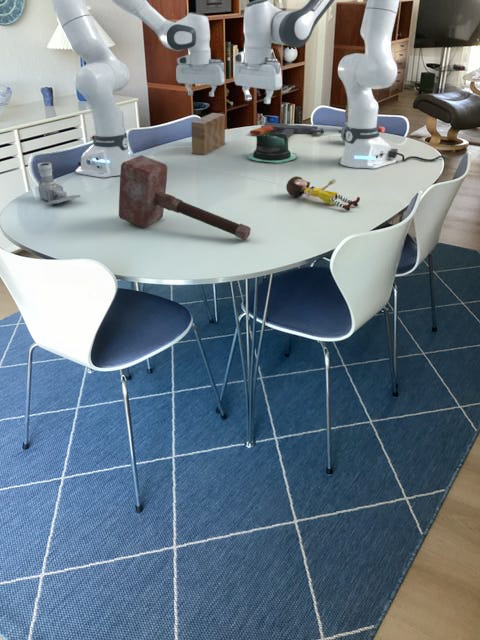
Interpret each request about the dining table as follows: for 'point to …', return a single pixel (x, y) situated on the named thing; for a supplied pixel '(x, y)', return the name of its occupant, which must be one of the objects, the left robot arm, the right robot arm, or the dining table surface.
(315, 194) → the figurine
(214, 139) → the box
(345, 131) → the toy
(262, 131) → the submachine gun
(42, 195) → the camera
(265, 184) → the dining table surface
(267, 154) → the green dome on base
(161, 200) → the sledgehammer
